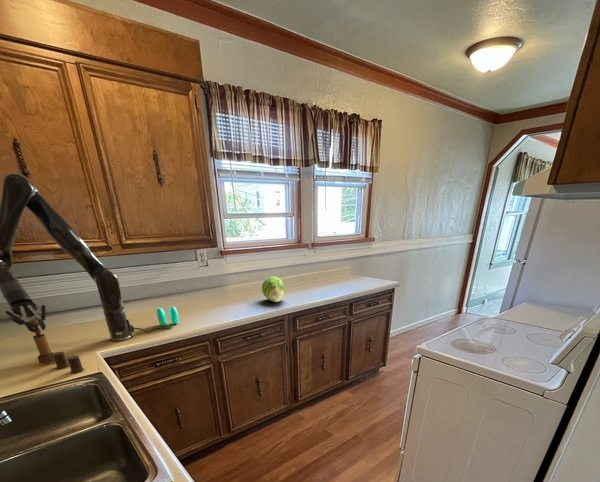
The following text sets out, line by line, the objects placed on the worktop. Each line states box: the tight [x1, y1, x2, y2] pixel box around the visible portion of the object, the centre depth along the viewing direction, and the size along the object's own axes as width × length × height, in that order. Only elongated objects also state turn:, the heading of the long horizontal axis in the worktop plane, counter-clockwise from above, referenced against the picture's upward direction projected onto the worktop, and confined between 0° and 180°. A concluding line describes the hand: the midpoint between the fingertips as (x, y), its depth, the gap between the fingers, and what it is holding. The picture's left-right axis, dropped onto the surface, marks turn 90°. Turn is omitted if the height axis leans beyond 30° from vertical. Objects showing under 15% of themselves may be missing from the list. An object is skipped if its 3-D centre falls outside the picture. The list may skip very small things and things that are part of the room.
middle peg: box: [52, 351, 70, 370], centre depth 133 cm, size 4×4×6 cm
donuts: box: [156, 306, 180, 327], centre depth 185 cm, size 10×10×10 cm
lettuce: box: [261, 275, 286, 303], centre depth 236 cm, size 17×23×16 cm
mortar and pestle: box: [28, 318, 55, 365], centre depth 133 cm, size 7×6×18 cm
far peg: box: [66, 354, 84, 374], centre depth 129 cm, size 4×4×6 cm
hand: (38, 329), depth 130 cm, fingers closed on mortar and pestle, 3 cm apart
